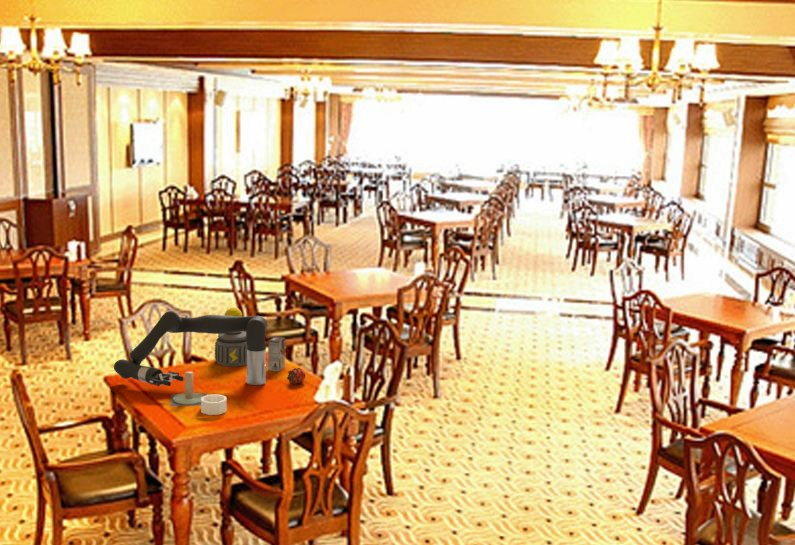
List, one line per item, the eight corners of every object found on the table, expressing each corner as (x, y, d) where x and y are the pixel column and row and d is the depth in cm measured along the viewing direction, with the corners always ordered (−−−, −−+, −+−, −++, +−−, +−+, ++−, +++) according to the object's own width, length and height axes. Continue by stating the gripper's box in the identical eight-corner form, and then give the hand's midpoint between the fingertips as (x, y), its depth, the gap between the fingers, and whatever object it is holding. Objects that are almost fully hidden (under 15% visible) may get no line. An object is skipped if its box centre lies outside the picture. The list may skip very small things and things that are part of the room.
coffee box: (273, 365, 456) (274, 336, 453) (285, 366, 455) (285, 337, 452) (267, 370, 447) (268, 340, 444) (279, 371, 446) (279, 341, 443)
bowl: (225, 406, 392) (226, 394, 391) (226, 415, 381) (226, 402, 380) (201, 407, 389) (201, 394, 388) (201, 416, 379) (201, 403, 378)
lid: (204, 394, 405) (204, 367, 403) (204, 404, 392) (204, 377, 389) (173, 395, 402) (173, 368, 400) (172, 405, 389) (172, 377, 386)
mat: (206, 394, 407) (206, 393, 406) (206, 406, 391) (206, 405, 391) (171, 395, 403) (171, 394, 403) (170, 407, 388) (170, 406, 388)
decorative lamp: (251, 367, 452) (252, 311, 446) (215, 367, 447) (215, 311, 442) (249, 356, 470) (250, 303, 464) (214, 357, 465) (214, 303, 460)
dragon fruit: (290, 390, 424) (298, 386, 435) (304, 381, 422) (311, 377, 434) (281, 375, 424) (289, 371, 436) (295, 366, 423) (303, 363, 434)
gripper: (139, 371, 399) (166, 377, 392) (160, 363, 412) (187, 369, 404) (139, 386, 401) (166, 393, 393) (160, 378, 413) (187, 385, 406)
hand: (176, 381), depth 399 cm, fingers open, 8 cm apart
